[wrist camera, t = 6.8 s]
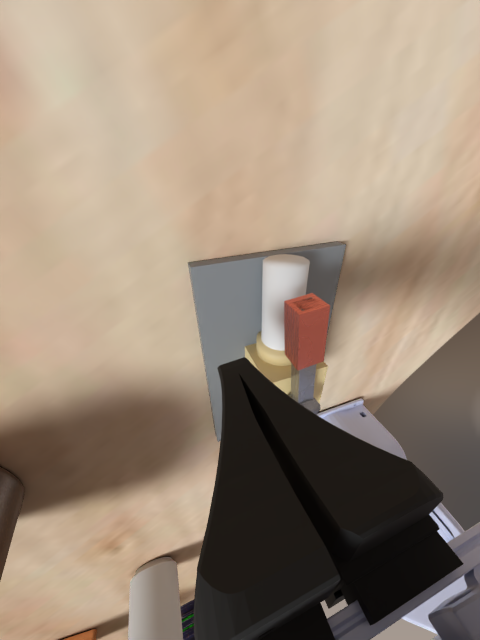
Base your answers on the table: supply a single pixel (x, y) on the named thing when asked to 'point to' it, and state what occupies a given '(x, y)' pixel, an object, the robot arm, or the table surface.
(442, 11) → the table surface
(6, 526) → the plant pot
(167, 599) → the can
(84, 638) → the whiskey bottle
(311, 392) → the lever
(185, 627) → the storage jar
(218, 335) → the board
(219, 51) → the table surface
